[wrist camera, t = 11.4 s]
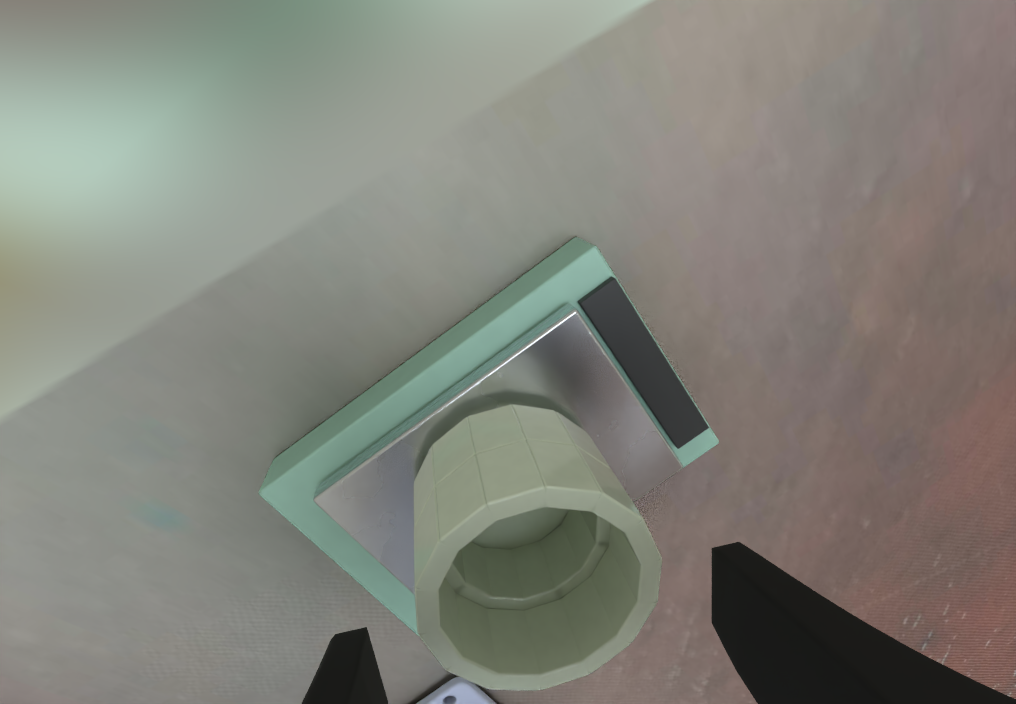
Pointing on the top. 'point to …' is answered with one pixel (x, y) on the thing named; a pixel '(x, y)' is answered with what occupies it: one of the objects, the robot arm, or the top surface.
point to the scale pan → (499, 382)
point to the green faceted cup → (527, 552)
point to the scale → (452, 358)
